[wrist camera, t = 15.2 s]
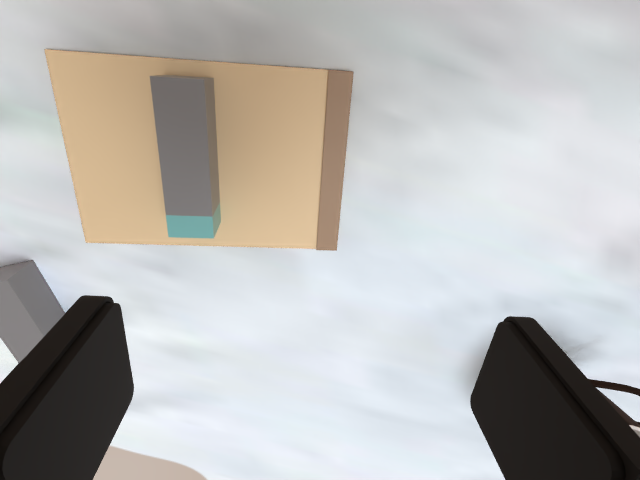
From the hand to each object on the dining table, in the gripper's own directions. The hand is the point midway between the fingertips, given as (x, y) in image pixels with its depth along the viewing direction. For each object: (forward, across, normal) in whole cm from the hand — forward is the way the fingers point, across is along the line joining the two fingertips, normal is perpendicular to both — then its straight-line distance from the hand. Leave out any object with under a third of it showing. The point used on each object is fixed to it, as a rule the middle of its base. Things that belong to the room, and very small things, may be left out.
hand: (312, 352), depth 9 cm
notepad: (+20, +7, +1) cm, 21 cm away
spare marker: (+19, +20, +14) cm, 31 cm away
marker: (+19, +8, 0) cm, 21 cm away
